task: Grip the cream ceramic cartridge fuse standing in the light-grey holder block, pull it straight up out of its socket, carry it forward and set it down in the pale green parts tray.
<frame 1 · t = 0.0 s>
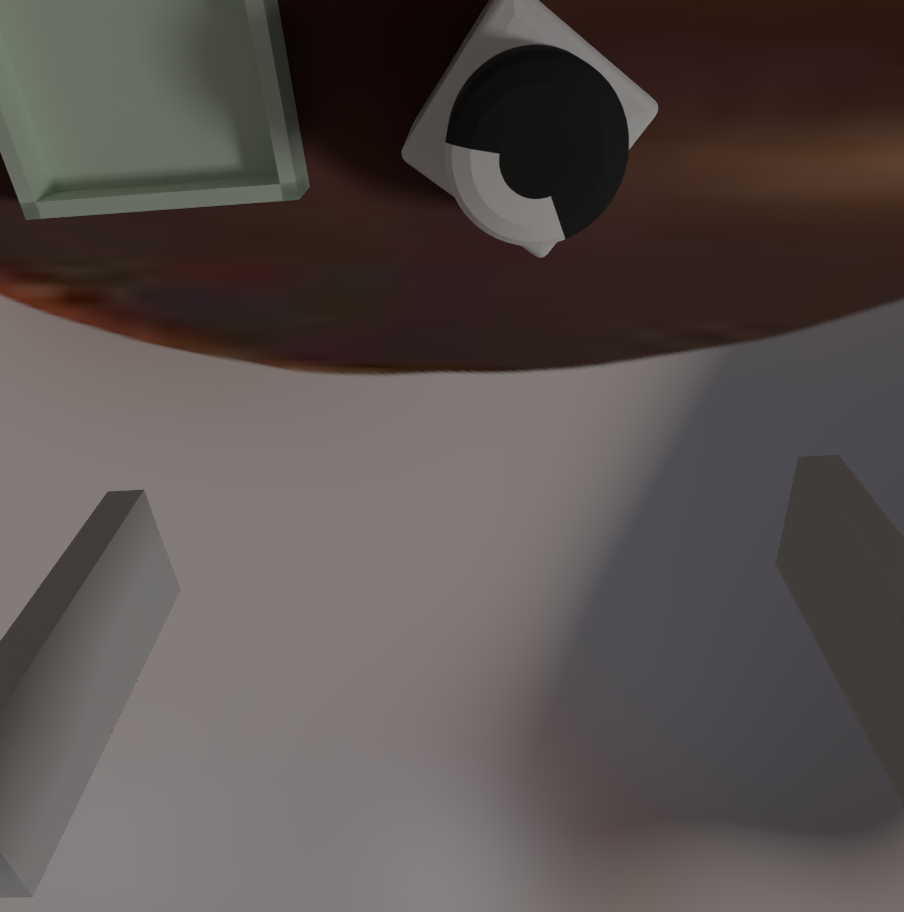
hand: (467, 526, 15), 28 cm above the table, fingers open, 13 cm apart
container: (517, 106, 37), on the table
tray: (139, 46, 35), on the table
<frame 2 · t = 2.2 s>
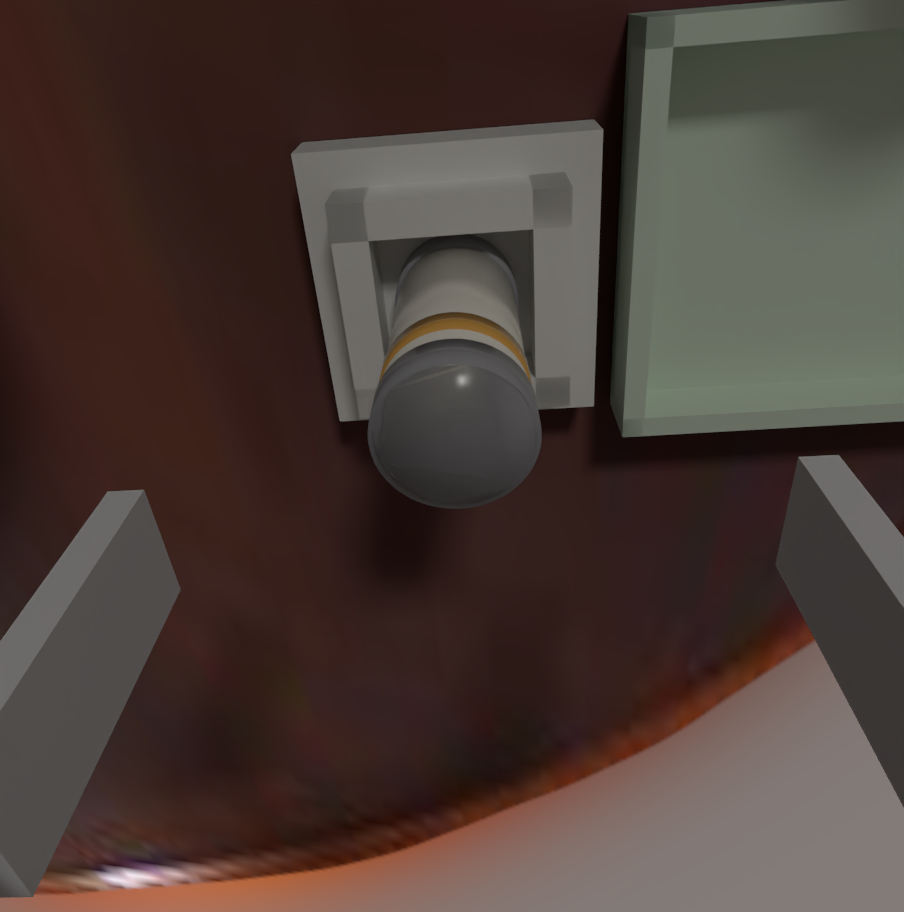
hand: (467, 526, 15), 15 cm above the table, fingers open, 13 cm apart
fuse: (456, 291, 26), point 2 cm above the table, touching holder
tray: (812, 221, 27), on the table
holder: (456, 273, 28), on the table
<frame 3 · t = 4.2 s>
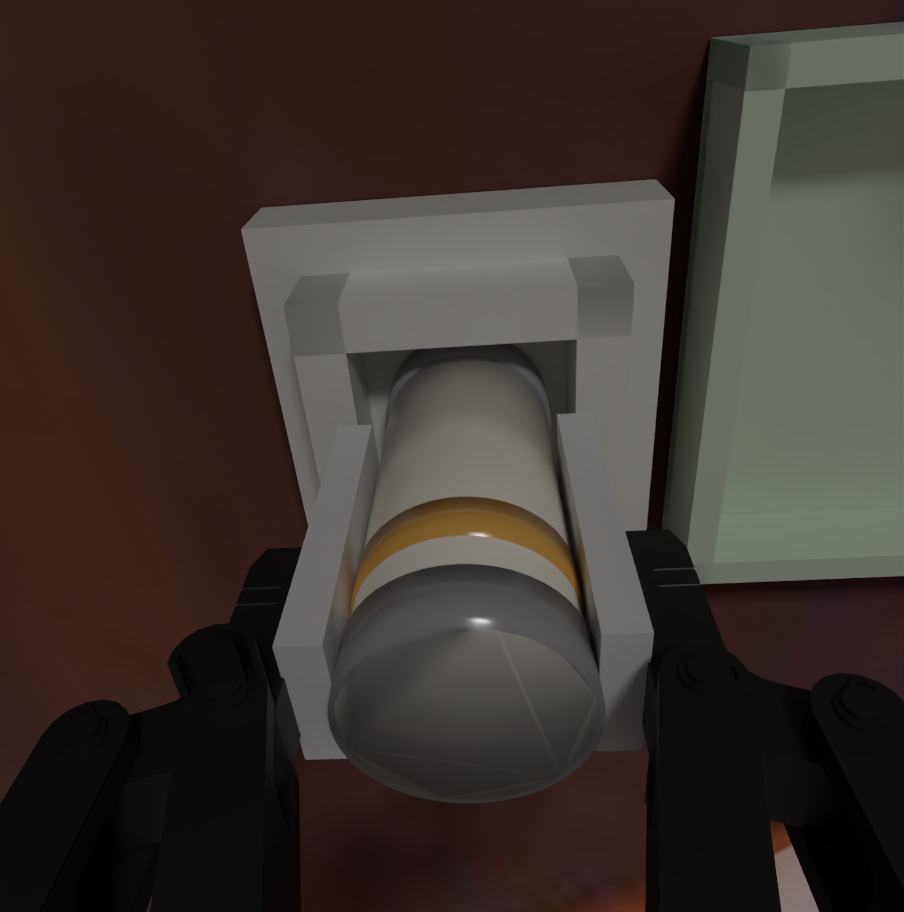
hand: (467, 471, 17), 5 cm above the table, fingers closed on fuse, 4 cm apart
fuse: (467, 405, 20), point 2 cm above the table, touching gripper, holder
holder: (468, 372, 21), on the table
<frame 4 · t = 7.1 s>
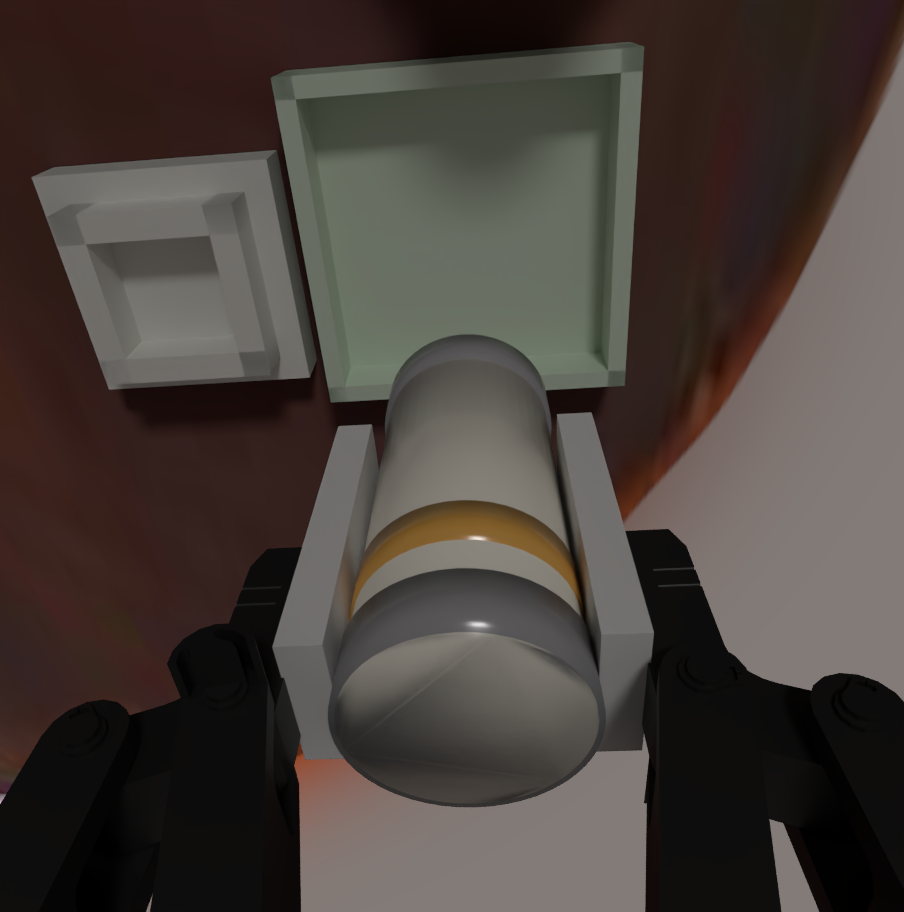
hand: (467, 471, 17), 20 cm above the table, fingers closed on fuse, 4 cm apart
fuse: (467, 407, 20), point 17 cm above the table, touching gripper
tray: (466, 229, 34), on the table
holder: (194, 270, 35), on the table
when the fingers open (6 cm above the table, at t = 10.2 s): fuse drops 2 cm, resting on tray.
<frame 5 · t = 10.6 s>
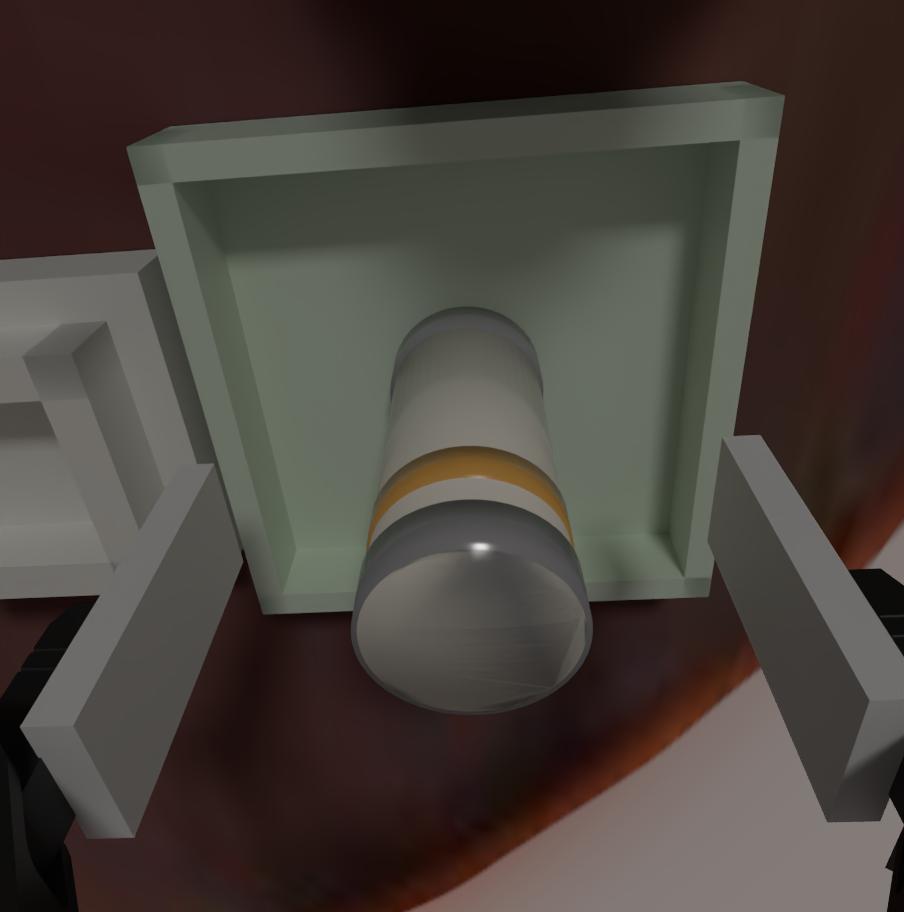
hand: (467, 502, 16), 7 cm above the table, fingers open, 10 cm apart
fuse: (466, 375, 21), point 1 cm above the table, touching tray
tray: (468, 364, 22), on the table
holder: (54, 418, 23), on the table
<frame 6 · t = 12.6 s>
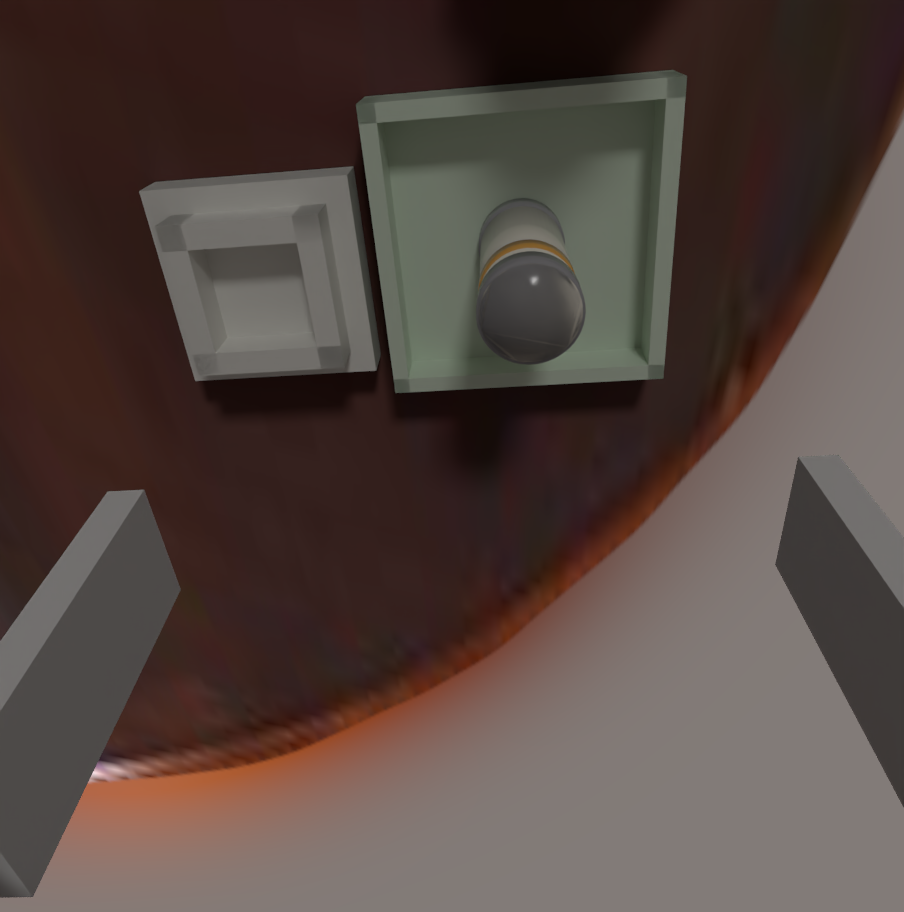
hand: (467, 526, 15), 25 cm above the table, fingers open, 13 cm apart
fuse: (520, 241, 37), point 1 cm above the table, touching tray
tray: (521, 237, 37), on the table
holder: (274, 273, 39), on the table
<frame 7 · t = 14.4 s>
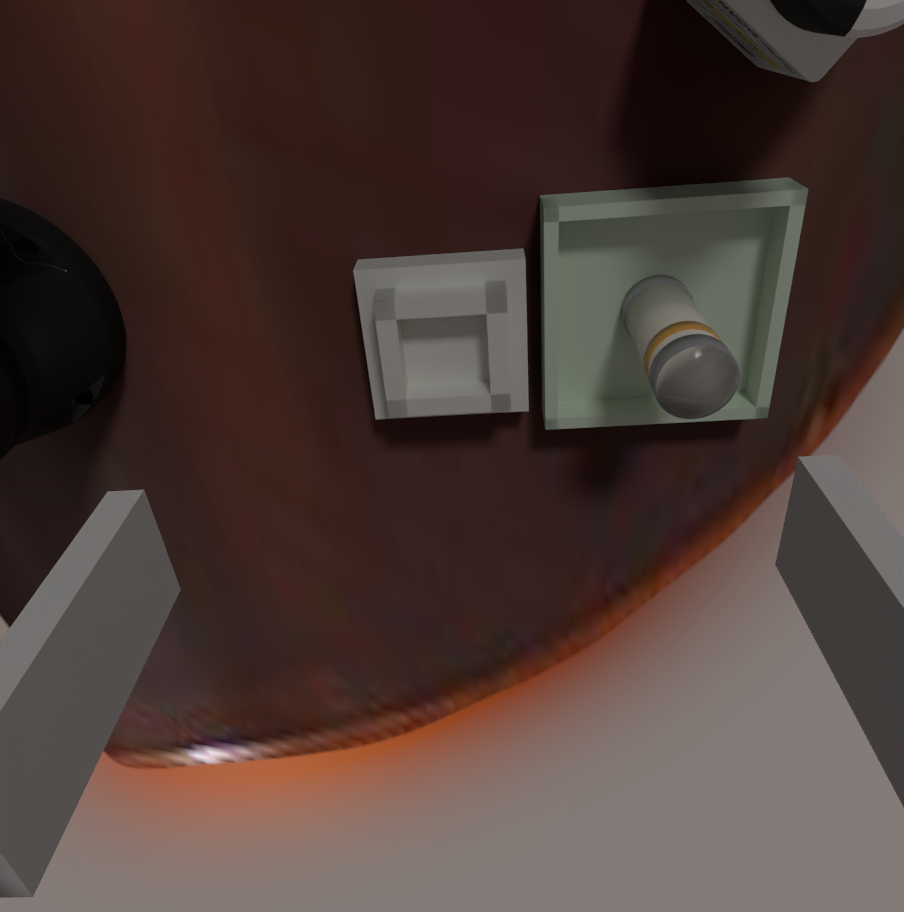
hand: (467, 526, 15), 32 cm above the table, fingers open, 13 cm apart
fuse: (655, 307, 45), point 1 cm above the table, touching tray
tray: (654, 303, 46), on the table
holder: (446, 331, 47), on the table
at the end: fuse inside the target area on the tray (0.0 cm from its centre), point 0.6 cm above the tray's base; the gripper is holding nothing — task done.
